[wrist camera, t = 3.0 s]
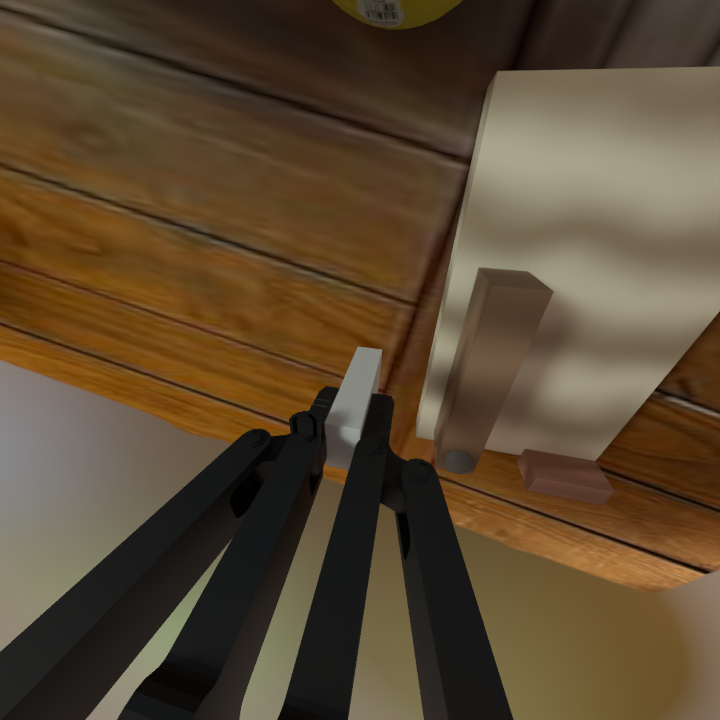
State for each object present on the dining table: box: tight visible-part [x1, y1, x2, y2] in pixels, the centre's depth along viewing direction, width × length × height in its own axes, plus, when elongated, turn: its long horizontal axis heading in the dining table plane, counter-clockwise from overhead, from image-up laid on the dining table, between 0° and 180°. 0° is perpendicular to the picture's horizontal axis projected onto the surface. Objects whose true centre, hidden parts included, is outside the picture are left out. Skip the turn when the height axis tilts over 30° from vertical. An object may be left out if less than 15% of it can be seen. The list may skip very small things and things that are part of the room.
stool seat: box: [416, 67, 720, 505], centre depth 19 cm, size 27×16×6 cm, turn 178°
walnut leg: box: [434, 267, 554, 474], centre depth 19 cm, size 16×3×5 cm, turn 178°
